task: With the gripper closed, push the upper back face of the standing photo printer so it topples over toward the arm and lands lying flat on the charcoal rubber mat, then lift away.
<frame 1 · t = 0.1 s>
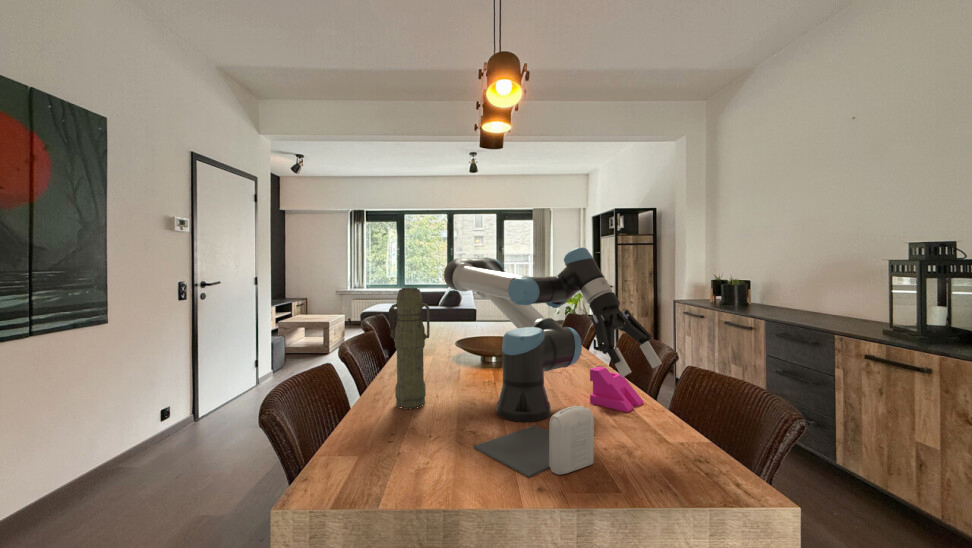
hand: (642, 370, 107), 15 cm above the table, tool tilted 35°, fingers open, 13 cm apart
mat: (532, 448, 98), on the table
thermos: (410, 405, 130), on the table
bracket: (616, 404, 130), on the table
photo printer: (571, 468, 89), on the table
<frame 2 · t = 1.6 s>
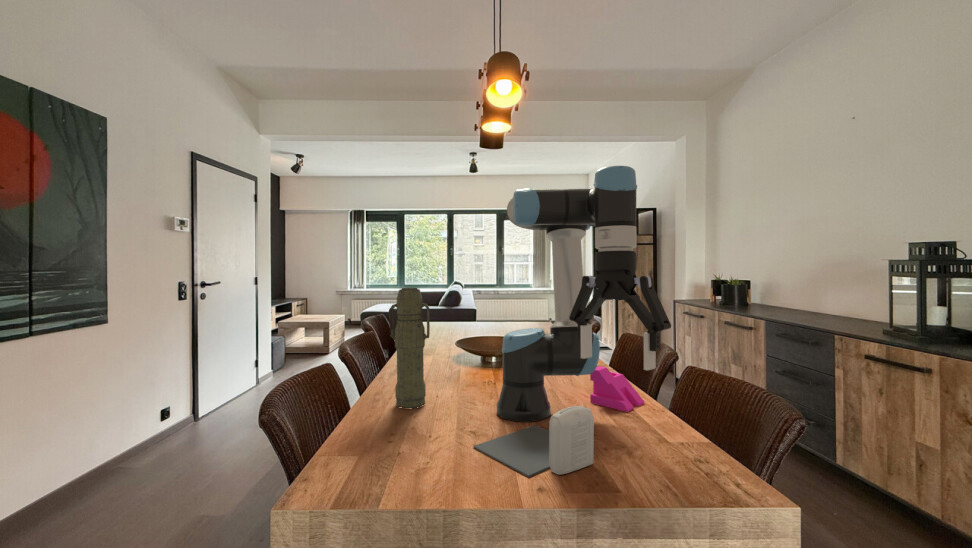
hand: (616, 363, 81), 23 cm above the table, tool pointing down, fingers open, 13 cm apart
nothing on the table moved.
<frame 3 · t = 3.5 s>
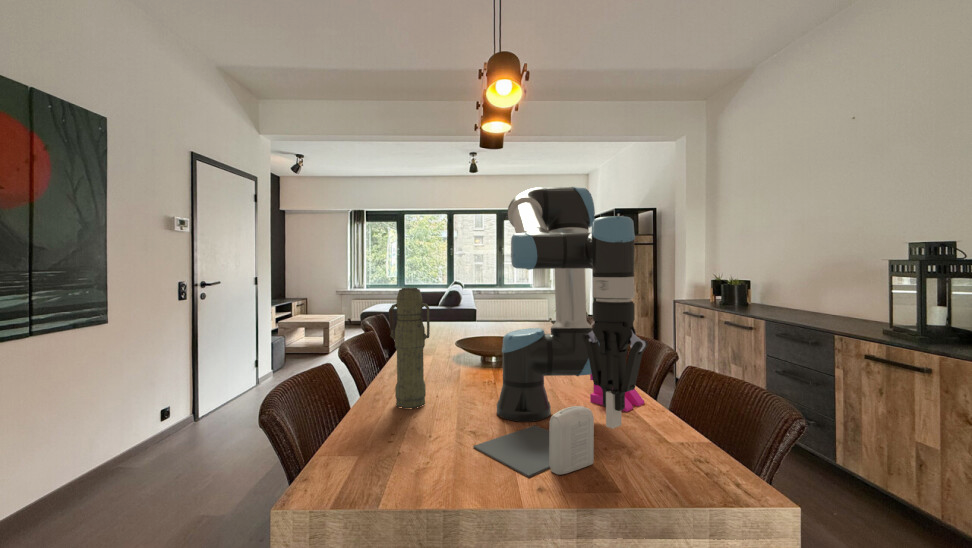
hand: (613, 425, 81), 12 cm above the table, tool pointing down, fingers closed
nothing on the table moved.
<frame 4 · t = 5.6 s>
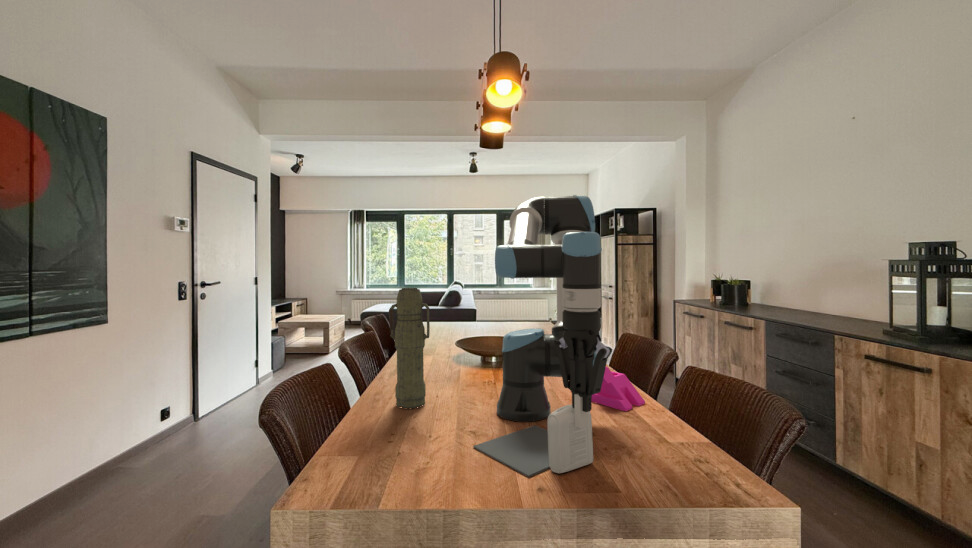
hand: (581, 425, 87), 9 cm above the table, tool pointing down, fingers closed
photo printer: (571, 467, 89), on the table, touching gripper
everything else where it was.
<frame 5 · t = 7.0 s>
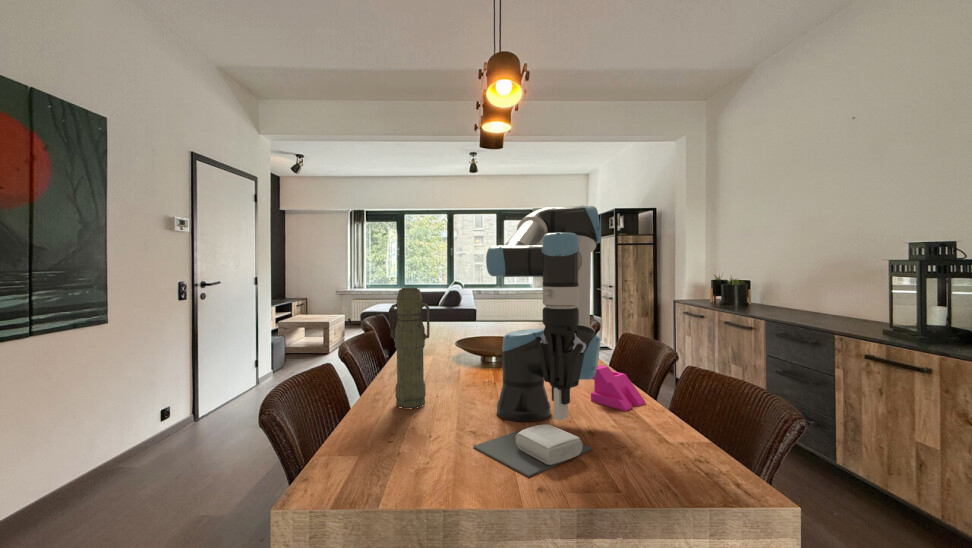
hand: (560, 417, 91), 9 cm above the table, tool pointing down, fingers closed
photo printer: (566, 452, 90), point 3 cm above the table, touching mat
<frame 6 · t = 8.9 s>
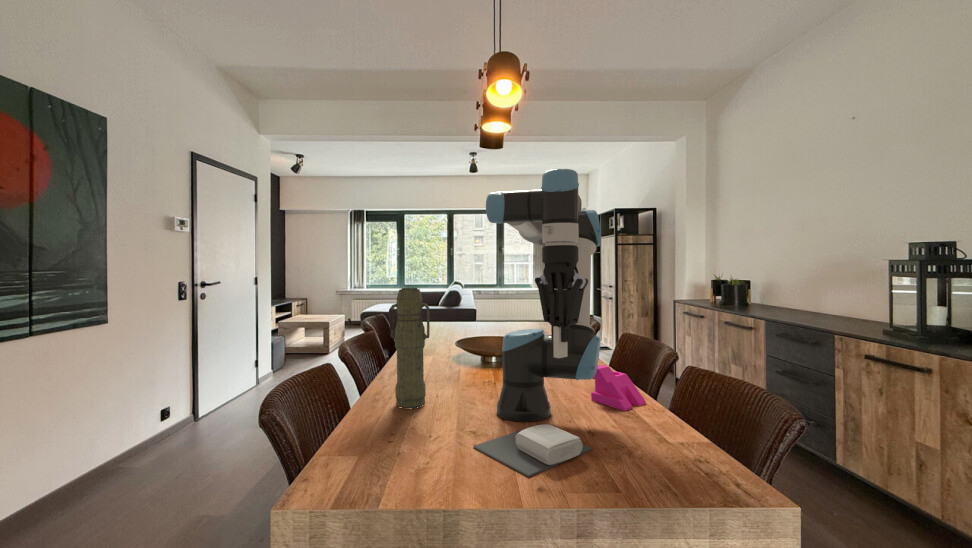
hand: (560, 356, 91), 22 cm above the table, tool pointing down, fingers closed
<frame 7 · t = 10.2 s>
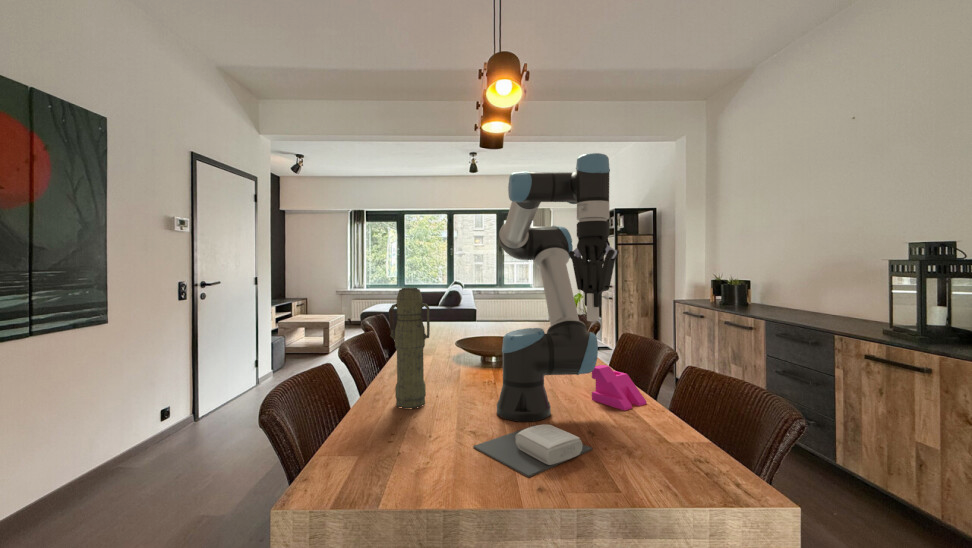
hand: (593, 320, 103), 28 cm above the table, tool pointing down, fingers closed
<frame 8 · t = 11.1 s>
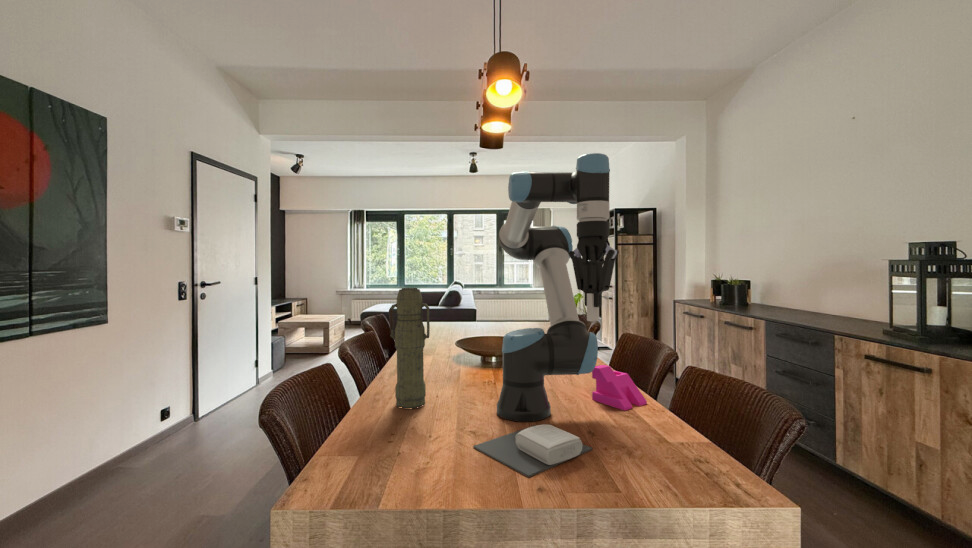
hand: (593, 320, 103), 28 cm above the table, tool pointing down, fingers closed
at the end: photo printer tilted 90°; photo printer touching mat; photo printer inside the target area (3.6 cm from its centre), point 2.6 cm above the table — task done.
